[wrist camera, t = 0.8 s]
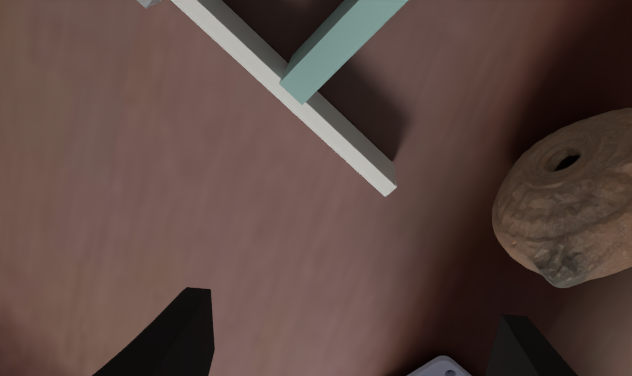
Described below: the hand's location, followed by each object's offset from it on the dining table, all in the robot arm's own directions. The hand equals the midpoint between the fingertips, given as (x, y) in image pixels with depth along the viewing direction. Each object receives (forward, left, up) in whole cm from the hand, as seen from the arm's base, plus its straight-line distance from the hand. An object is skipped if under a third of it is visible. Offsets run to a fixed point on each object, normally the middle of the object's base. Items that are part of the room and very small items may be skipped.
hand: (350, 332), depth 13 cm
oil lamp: (-5, -7, -10) cm, 13 cm away
